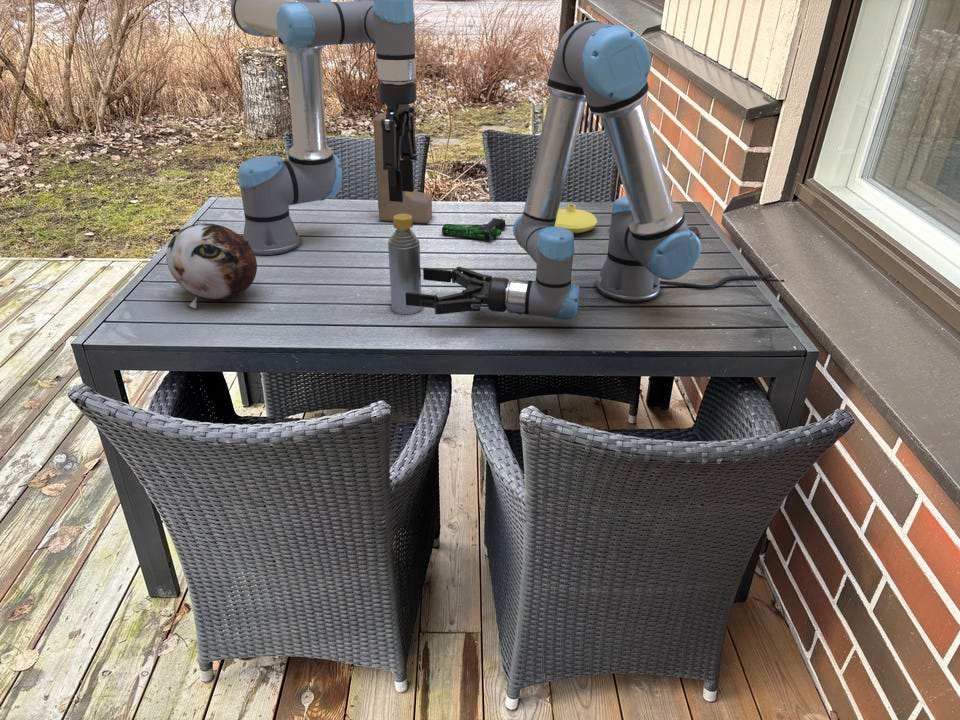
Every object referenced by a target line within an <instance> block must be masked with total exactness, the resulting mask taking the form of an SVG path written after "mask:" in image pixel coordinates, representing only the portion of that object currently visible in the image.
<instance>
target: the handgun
mask: <svg viewBox="0 0 960 720" xmlns="http://www.w3.org/2000/svg"><path fill="white" fill-rule="evenodd" d="M505 228H506V220H505V219H503V218H497V217H492V219H491V220H490V221H489V222H488V223H483V224H482V225H479V224H472V225H459V224H453V223H445V224H443V226H442V227H441V235H446V236H454V237H462V238H469V239H470V238H471V239H474V240H479V241H484V242H491V241H492V240H494V239H495V238H497V237H500V236H502V230H504V229H505Z"/></svg>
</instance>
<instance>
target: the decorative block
mask: <svg viewBox="0 0 960 720" xmlns="http://www.w3.org/2000/svg"><path fill="white" fill-rule="evenodd" d="M386 113H387V112H380V113H378V114H376V115H375V117H373V118H372V125H373V126H372V127H373V142H374V159H375V174H376V175H375V177H376V186H377V187H376V192H377V206H378V219H379V221H381V222H393V216H394V215H397V214H409V215H411V216H412V219H413V224H428V223H429V222H430V219H431V218H432V216H433V196H432V194H430V193H425V192H421V191H417V190H416V189H414V191H413V192H407V191H403V202H395V201H389V182H388V171H387V170H383V139H382V126H381V119H386ZM400 160H403V159H401V156H400Z"/></svg>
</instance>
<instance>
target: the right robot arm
mask: <svg viewBox="0 0 960 720" xmlns="http://www.w3.org/2000/svg"><path fill="white" fill-rule="evenodd" d="M651 64H652V59H651V54H650V50H649V48H648V46H647V43H646V42H645V41H644V40H643V38H642V37H641V36H640V35H638V34H637V33H636V32H634V31H633V30H631V29H630V28H628V27H626V26H625V27H624V26H622V25H616V24H609V23H604V22H602V21H599V20H595V19H587V20H582V21H580V22H577V23H576V24H574V25H572V26H571V27H569V28H568V30H567V31H566V32H565V33H564V34H563V36H562V37H561V39H560V41H559V42H558V45H557V47H556V49H555V52H554V56H553V59H552V62H551V67H550V70H549V74H548V78H547V84H546V88H547V89H548V91H549V97H548V102H547V106H546V109H545V115H544V119H543V124H542V129H541V132H540V136H539V142H538V145H537V151H536V155H535V159H534V163H533V167H532V172H531V177H530V181H529V186H528V190H527V194H526V198H525V202H524V208H523V212H522V214H521V215H520V216H518V217H517V218H516V220H515V221H514V223H513V226H512V233H513V236H514V238H515V241H516V242H517V244H518V246H520V248H521V249H522V250H524V251H525V252H526V253H527V254H528V256H529V257H530V258H531V259H532V260H533V262H535V264H536V266H535V267H536V270H535V271H536V273H535V275H536V276H535V280H529V279H521V278H511V279H509V278H507V277H499V276H494V277H493V275H488V274H484V273H480V272H477V271H474V270H472V269H468V268H465V267H462V266H456V269H452V270H450V269H449V270H448V269H439V268H438V269H437V268H429V267H423V269H422V279H423V281H432V282H441V283H450V284H455V283H456V284H457V285H459V286H461V287H462V288H464V289H463V290H462V291H461V292H456V293H453V294H452V293H451V294H447V295H443V296H437V294H427V293H426V294H425V293H421V294H417V293H408V292H406V294H405V296H406V305H410V306H419V307H422V308H429V309H434V314H435V315H445V314H456V313H466V312H467V313H468V312H474V313H475V312H476V313H477V312H478V313H479V312H481V310H482V305H487V308H488V310H489V311H490V312H497V313H505V312H508V313H509V314H515V315H516V314H518V316H522V315H525V316H526V315H527V316H534V317H543V318H551V319H554V320H557V319H558V320H560V319H562V320H572V319H575V318H576V317H577V315H578V310H579V304H580V303H579V302H580V292H581V291H580V290H581V288H580V286H579V285H577V284H574V283H572V270H573V262H574V261H573V260H574V254H575V235H574V233H572V232H571V231H570V230H568V229H565V228H562V227H554V226H555V222H556V217H557V213H558V209H560V204H561V201H562V196H563V193H564V189H565V186H566V181H567V177H568V174H569V170H570V165H571V161H572V158H573V153H574V151H575V150H574V149H575V146H576V143H577V139H578V134H579V131H580V127H581V122H582V119H583V114H584V111H585V107H586V103H587V106H588V109H589V112H590V113H591V114H593V115H595V116H598V117H599V118H600V119H601V123H602V125H603V129H604V132H605V135H606V138H607V142H608V145H609V147H610V150H611V153H612V157H613V159H614V162H615V166H616V168H617V169H616V170H617V171H618V175H619V178H620V181H621V185H622V187H623V191H624V193H625V196H621V197H618V198H617V199H615V200H614V202H613V204H612V208H611V209H612V210H611V212H610V216H611V217H610V224H609V234H608V244H607V253H606V254H607V255H606V258H605V261H604V264H603V265H602V267H601V270H600V271H599V273H598V276H597V280H596V283H595V284H596V286H595V287H596V290H597V292H598V293H600V294H601V295H602V296H604V297H605V298H608V299H610V300H613V301H617V302H621V303H622V302H623V303H633V304H634V303H635V304H636V303H646V302H649V301H652V300H655V299H657V297H658V296H659V294H660V292H661V291H660V290H661V285H664V286H675V287H676V286H678V287H687V288H693V289H706V290H707V289H714V288H718V287H720V286H721V285H722V284H724V283H725V282H728V281H733V280H759V279H760V280H762V279H770V278H771V279H772V278H773V277H772V276H771V274H772V273H768V274H757V275H758V276H759V277H758V276H757V275H750V276H748V275H749V274H747V275H746V274H745V275H743V274H742V275H741V274H740V275H729V276H726V277H723V278H722V279H720V280H719V281H718V282H717V283H712V284H696V283H690V282H679V281H672V280H677V279H679V278H681V277H683V276H685V275H686V274H687V273H689V272H690V271H691V270H692V269H693V268H694V267H695V265H696V262H698V260H700V257H701V253H702V243H701V242H702V241H701V240H700V238H699V237H697V236H696V234H695V233H694V232H692V231H690V230H689V228H688V227H689V226H688V223H687V219H686V215H685V211H684V209H683V207H682V205H680V204H678V203H677V202H674V201H673V197H672V195H671V190H670V188H669V184H668V180H667V176H666V174H665V170H664V166H663V162H662V159H661V156H660V151H659V149H658V144H657V142H656V137H655V134H654V131H653V127H652V123H651V120H650V118H649V114H648V111H647V106H646V102H645V98H646V96H647V95H648V93H649V91H650V87H649V82H648V76H649V74H650V73H651V67H652V65H651ZM660 279H661V280H660Z"/></svg>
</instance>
